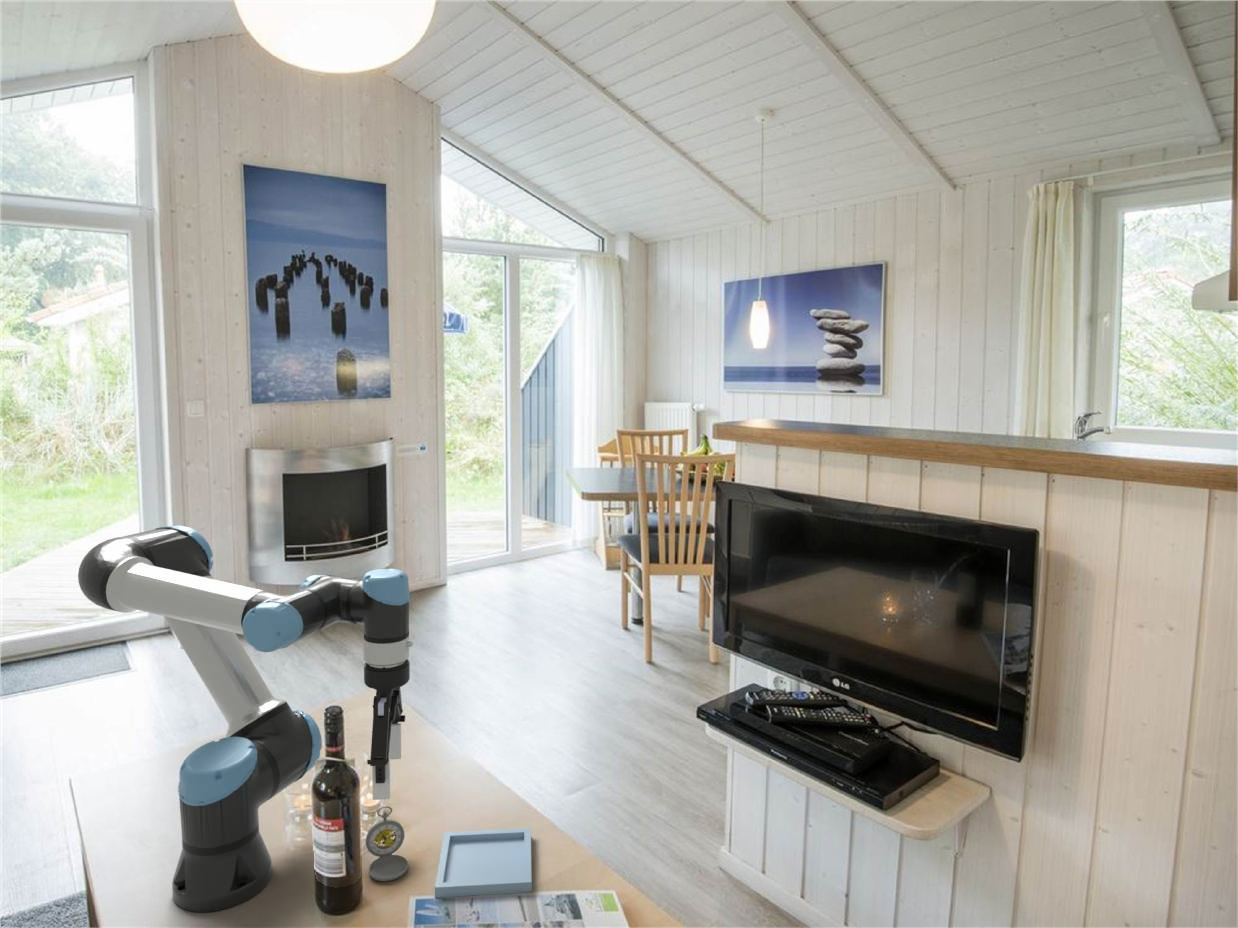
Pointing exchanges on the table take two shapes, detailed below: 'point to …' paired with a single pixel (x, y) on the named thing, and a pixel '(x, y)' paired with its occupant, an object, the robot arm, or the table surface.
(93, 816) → the table surface
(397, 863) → the pocket watch
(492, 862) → the tray
